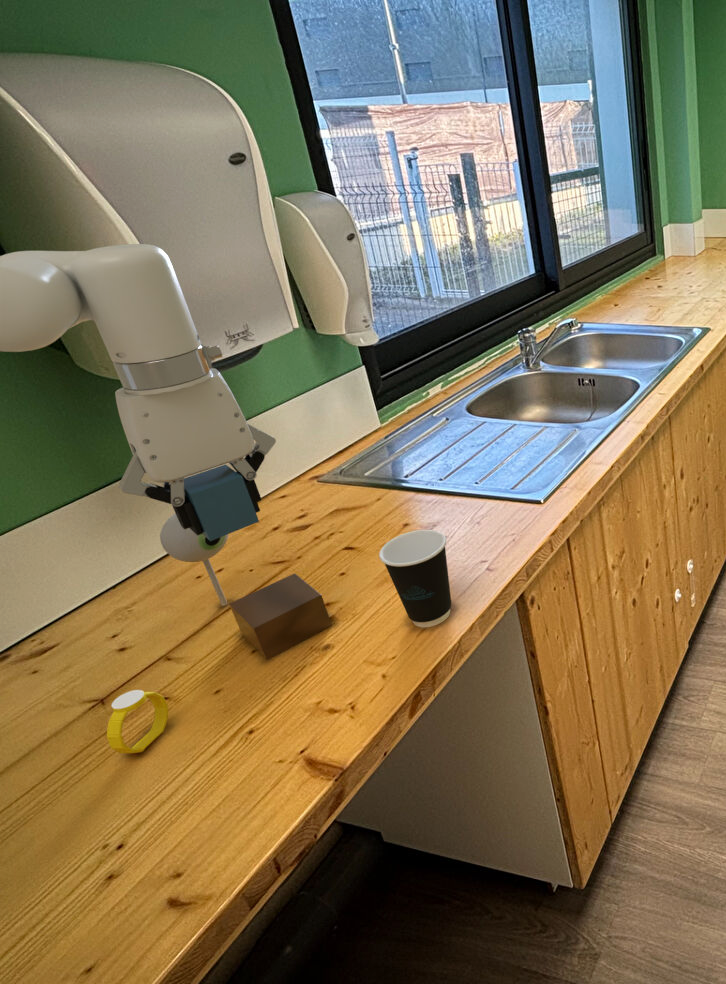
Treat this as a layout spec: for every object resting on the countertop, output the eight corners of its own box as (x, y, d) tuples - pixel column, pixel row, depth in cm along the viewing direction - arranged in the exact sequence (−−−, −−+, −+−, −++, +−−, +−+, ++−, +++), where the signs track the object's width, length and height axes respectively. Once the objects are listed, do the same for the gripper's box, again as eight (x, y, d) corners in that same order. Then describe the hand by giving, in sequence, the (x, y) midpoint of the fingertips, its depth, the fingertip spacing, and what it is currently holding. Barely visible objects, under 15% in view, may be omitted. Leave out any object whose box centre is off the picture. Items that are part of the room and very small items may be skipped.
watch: (138, 764, 73) (115, 723, 70) (113, 764, 73) (89, 722, 70) (181, 719, 78) (161, 679, 75) (158, 719, 78) (136, 678, 76)
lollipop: (219, 625, 93) (177, 529, 86) (181, 615, 95) (137, 521, 88) (266, 593, 99) (230, 501, 92) (229, 584, 101) (191, 494, 94)
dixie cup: (447, 589, 98) (429, 522, 93) (473, 614, 93) (456, 544, 88) (390, 616, 93) (369, 547, 88) (414, 644, 88) (393, 572, 83)
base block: (266, 660, 86) (253, 628, 84) (241, 634, 91) (228, 603, 89) (332, 625, 92) (321, 594, 90) (305, 602, 96) (294, 572, 94)
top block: (210, 541, 77) (190, 494, 74) (194, 527, 80) (175, 481, 77) (259, 521, 80) (242, 475, 78) (243, 508, 83) (225, 464, 81)
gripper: (241, 342, 80) (290, 481, 88) (50, 386, 68) (125, 542, 76) (268, 353, 76) (316, 498, 84) (68, 403, 64) (146, 566, 72)
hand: (224, 518), depth 80 cm, fingers closed on top block, 5 cm apart
